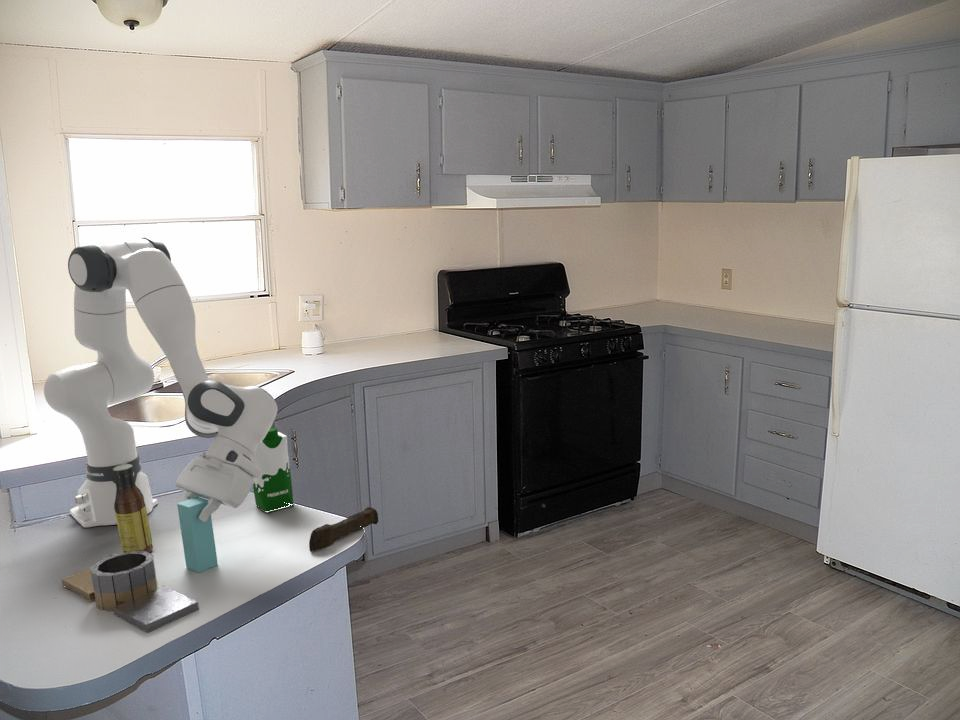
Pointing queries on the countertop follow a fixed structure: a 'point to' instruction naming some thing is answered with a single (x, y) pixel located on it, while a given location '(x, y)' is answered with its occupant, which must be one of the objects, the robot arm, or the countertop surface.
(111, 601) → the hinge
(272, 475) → the milk carton
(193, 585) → the countertop surface
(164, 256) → the robot arm
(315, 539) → the hand tool
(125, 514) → the sauce bottle
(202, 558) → the teal square block
